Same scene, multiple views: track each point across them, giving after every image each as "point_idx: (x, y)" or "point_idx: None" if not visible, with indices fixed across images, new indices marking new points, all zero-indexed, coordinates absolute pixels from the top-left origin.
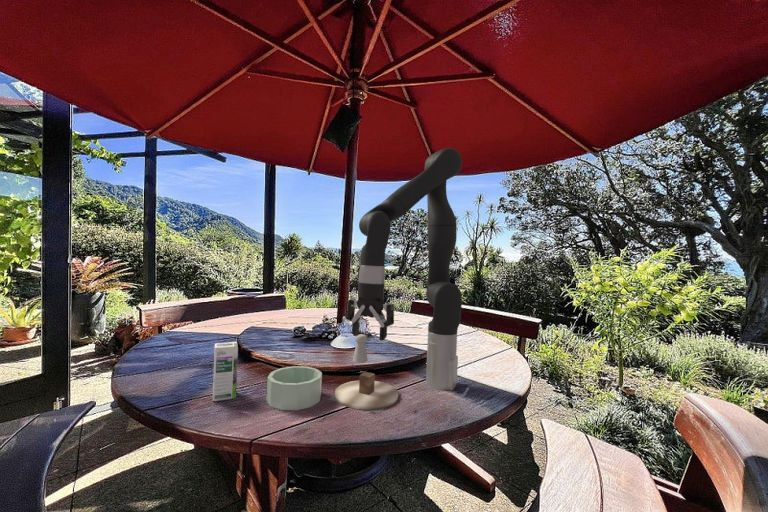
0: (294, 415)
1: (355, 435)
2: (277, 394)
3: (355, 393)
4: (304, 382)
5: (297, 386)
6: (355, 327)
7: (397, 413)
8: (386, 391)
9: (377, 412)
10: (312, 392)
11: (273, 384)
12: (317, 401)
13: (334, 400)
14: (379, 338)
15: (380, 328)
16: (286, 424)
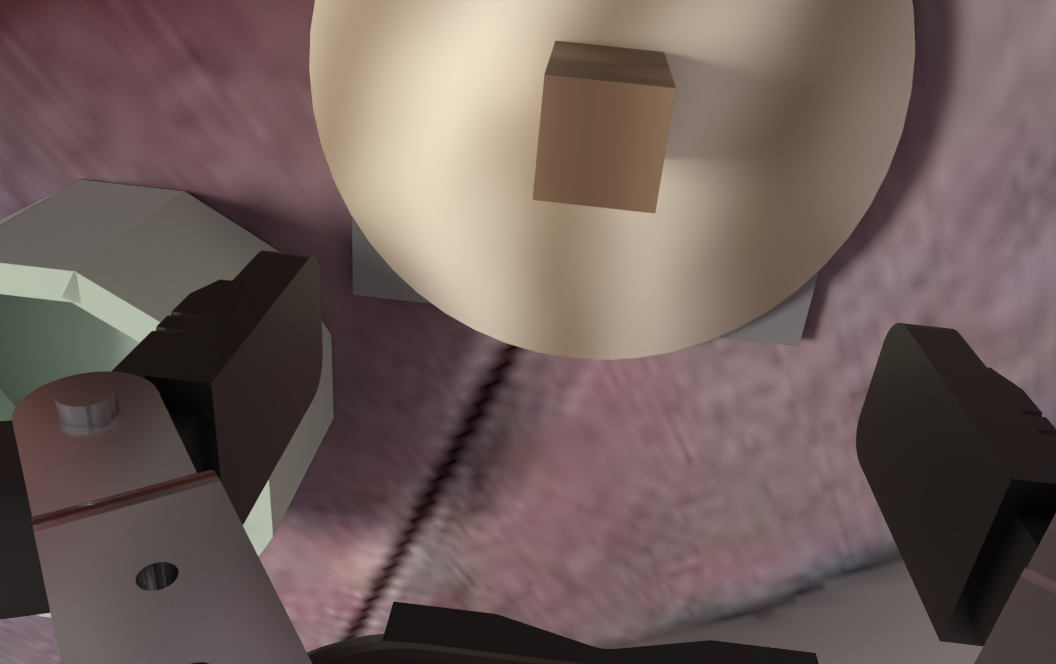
0: (308, 506)
1: (725, 562)
2: None
3: (524, 176)
4: None
5: None
6: (259, 490)
7: (927, 254)
8: (784, 1)
9: (785, 337)
10: (299, 468)
11: None
12: (324, 365)
13: (413, 291)
14: (864, 469)
15: (946, 620)
16: (341, 585)
